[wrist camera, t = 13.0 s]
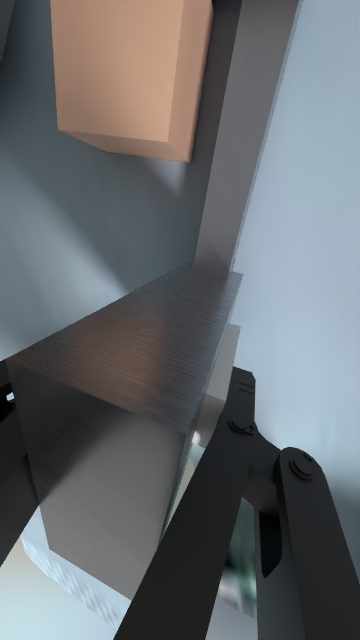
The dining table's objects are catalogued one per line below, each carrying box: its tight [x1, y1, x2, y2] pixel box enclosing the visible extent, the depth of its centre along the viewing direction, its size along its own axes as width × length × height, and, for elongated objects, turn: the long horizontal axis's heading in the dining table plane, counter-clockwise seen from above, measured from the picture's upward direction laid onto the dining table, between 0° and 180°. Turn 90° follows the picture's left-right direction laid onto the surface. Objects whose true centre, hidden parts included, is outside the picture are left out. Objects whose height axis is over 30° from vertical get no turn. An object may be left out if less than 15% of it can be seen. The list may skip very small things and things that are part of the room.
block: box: [50, 0, 214, 163], centre depth 11 cm, size 6×6×4 cm
